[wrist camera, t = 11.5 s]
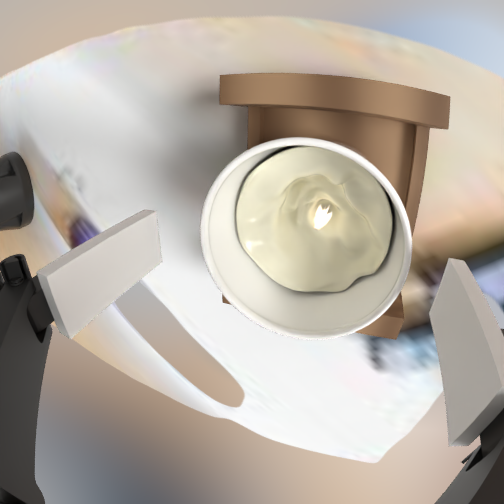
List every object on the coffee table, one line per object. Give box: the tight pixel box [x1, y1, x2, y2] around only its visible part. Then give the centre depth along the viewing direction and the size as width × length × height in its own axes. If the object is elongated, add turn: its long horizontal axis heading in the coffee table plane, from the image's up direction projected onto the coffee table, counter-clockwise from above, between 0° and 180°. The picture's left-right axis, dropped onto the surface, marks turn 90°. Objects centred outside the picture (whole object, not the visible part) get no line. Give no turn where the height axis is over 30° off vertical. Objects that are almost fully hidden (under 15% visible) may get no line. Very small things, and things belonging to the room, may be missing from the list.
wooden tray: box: [220, 73, 450, 340], centre depth 21 cm, size 14×17×7 cm
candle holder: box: [200, 137, 412, 340], centre depth 18 cm, size 10×10×12 cm
